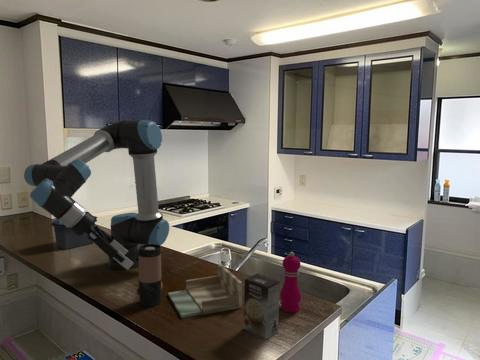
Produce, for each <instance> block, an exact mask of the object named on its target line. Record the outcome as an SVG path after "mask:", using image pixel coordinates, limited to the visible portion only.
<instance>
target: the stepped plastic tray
mask: <svg viewBox="0 0 480 360" xmlns="http://www.w3.org/2000/svg"><path fill="white" fill-rule="evenodd" d="M167 296H168V298H169V299H170V302H171V303H172V305H173V306H174V308H175V309H176V312H177V313H178V315H179V317H180V318H181V319H185V318H191V317H196V316H200V315H203V316H205V315H210V314H216V313H220V312H226V311H230V310H236V309H241V308H243V282H242V281H241V280H240V279H239V278H238V277H237V276H235V275H234V273H232V272H231V271H230V270H229V269H228V268H227V267H225V266H224V265H223V264H222V263H219V264H217V275H211V276H205V277H198V278H191V279H186V280H185V289H183V290H177V291H170V292H168V293H167Z"/></svg>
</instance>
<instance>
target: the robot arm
mask: <svg viewBox="0 0 480 360" xmlns="http://www.w3.org/2000/svg"><path fill="white" fill-rule="evenodd" d="M162 143H163V134H162V130H161V129H160V127H159V125H158V124H157V123H156V122H155V121H153V120H145V119H140V120H137V119H135V120H133V119H132V120H125V119H123V120H118V121H115V122H112V123H110V124H108V125H105V126H104V127H101V128H100V129H98V130H96V131H95V132H94V134H93V136H90V137H88V138H86V139H85V140H83V141H82V142H79V143H78V144H76V145H73V146H72V147H70V148H69V149H67V150H65V151H63V152H61V153H60V154H57V155H56V156H54V157H52V158H50V159H48V160H47V161H45V162H43V163H41V164H40V163H39V164H38V163H36V164H30V165H28V166H27V167H26V168H25V169H24V172H23V177H24V181H25V183H27V184H28V185H29V186H31V187H34V188H33V189H32V191H30V194H29V197H30V199H32V201H33V202H35V203H36V204H37V205H38V206H39V207H40V208H42V209H43V210H45V211H46V212H48V213H49V215H51V216H53V217H54V219H55V220H59V221H60V222H59V223H60V224H64V225H65V226H66V227H70V230H71V231H72V232H74V233H75V234H76V235H78V236H80V235H82V234H83V233H85V232H86V233H87V234H88V238H89V239H90V240H92V241H93V242H94V243H93V244H95V245H96V247H98V248H99V249H100V250H102V251H103V253H104V254H105V255H106V256H107V257H108V259H107V267H108V268H110V269H113V270H127V271H128V270H131V269H135V268H137V267H138V268H139V247H140V246H139V245H141V246H142V245H147V244H156V245H160V246H162V245H163V244H164V243H165V242H166V240H167V238H168V237H169V232H170V223H169V222H168V220H166V219H164V216H163V215H164V214H163V213H162V211H160V210H159V200H158V199H159V198H158V188H157V174H156V165H155V155H156V154H158V149H160V147H161V146H162ZM116 149H127V151H128V152H127V153H128V155H129V157H131V158H132V162H133V173H134V181H135V182H134V185H135V191H136V202H137V212H138V213H137V212H126V213H121V214H116V215H113V216H112V217H111V219H110V234H109V233H107V232H106V231H105V230H103V229H101V227H99V226H98V225H96V223H95V224H94V221H95V217H94V216H95V215H93V214H92V213H90V212H89V211H86V208H85V207H84V206H82V205H81V204H80V203H78V202H77V201H75V200H74V199H73V198H72V197H73V196H74V195H75V194H76V192H77V191H78V190H79V189H81V187H82V186H83V185H84V184H86V182H87V181H88V179H89V178H90V177H91V175H92V170H91V169H90V167H89V165H88V164H87V163H89V162H91V161H92V160H93V159H95V158H97V157H99V156H100V155H102V154H104V153H110V152H112V151H113V150H116Z"/></svg>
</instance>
